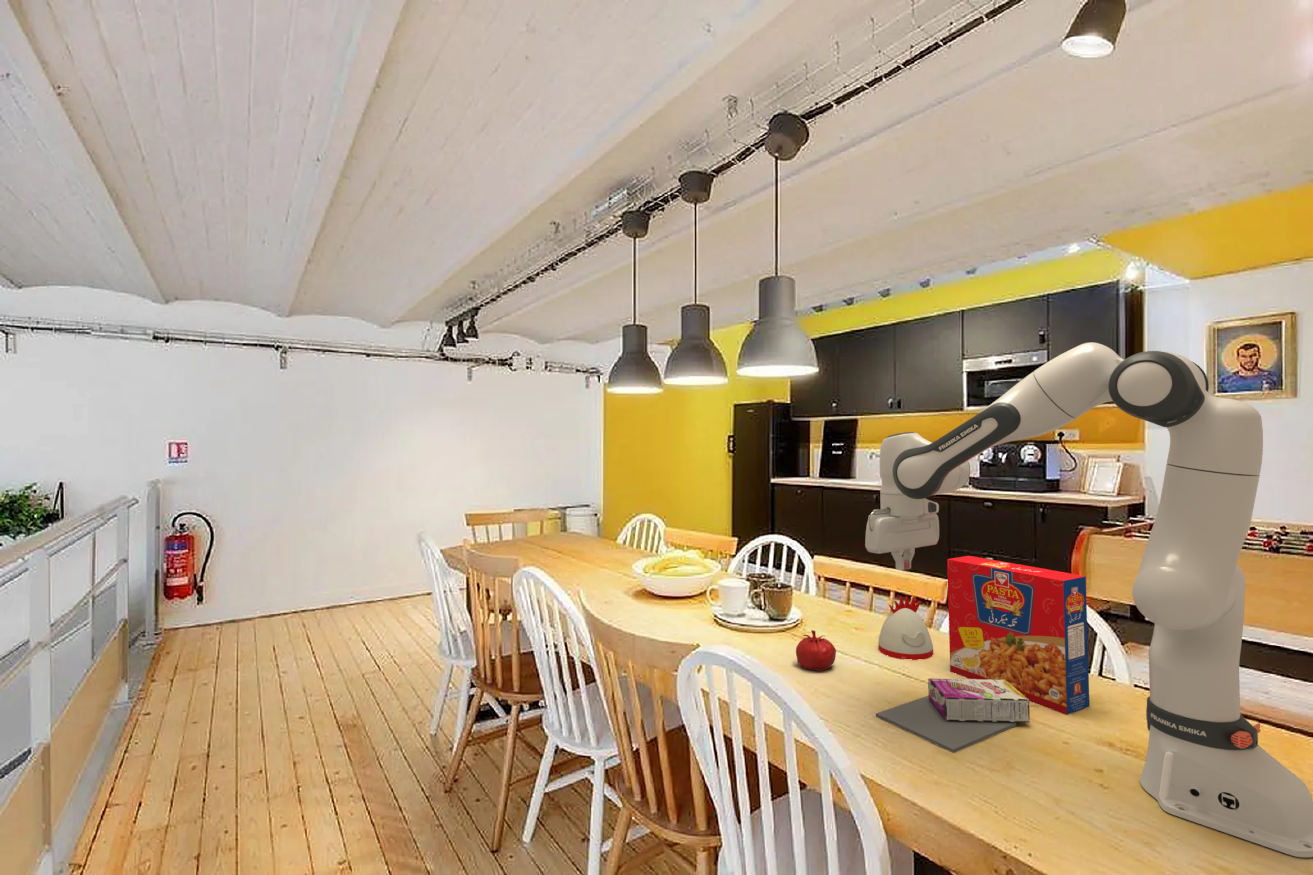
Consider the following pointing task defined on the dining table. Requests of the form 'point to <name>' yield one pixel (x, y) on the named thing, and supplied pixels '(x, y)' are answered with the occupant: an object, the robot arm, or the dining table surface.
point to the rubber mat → (940, 725)
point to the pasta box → (1020, 629)
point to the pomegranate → (815, 653)
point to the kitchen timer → (905, 633)
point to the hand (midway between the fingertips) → (903, 569)
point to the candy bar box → (978, 700)
